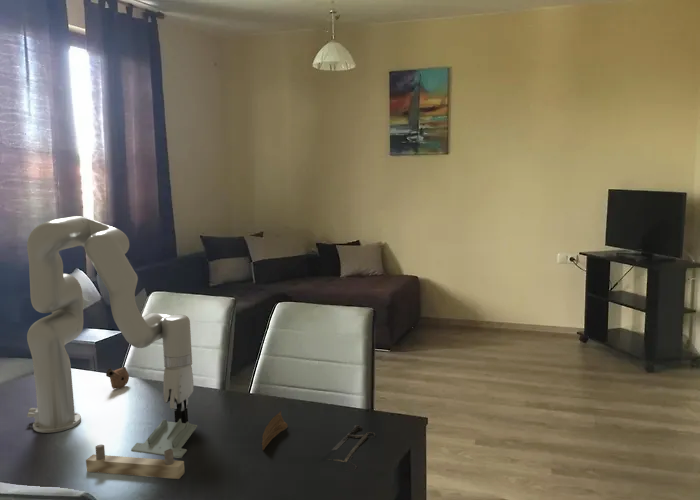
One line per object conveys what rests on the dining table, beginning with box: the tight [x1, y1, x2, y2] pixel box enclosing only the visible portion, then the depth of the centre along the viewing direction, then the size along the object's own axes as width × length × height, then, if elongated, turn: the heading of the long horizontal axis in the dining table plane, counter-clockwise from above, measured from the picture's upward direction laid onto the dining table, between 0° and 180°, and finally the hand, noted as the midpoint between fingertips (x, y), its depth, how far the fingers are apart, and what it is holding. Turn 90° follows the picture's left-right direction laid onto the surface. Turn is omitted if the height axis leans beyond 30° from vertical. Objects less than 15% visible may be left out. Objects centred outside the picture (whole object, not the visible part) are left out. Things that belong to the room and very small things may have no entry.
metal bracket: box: [130, 418, 198, 459], centre depth 169 cm, size 14×6×15 cm
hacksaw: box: [327, 424, 376, 472], centre depth 166 cm, size 24×10×1 cm, turn 155°
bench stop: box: [85, 444, 186, 480], centre depth 154 cm, size 24×3×6 cm, turn 80°
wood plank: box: [260, 410, 289, 451], centre depth 172 cm, size 15×2×5 cm, turn 166°
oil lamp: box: [105, 366, 130, 390], centre depth 211 cm, size 9×4×8 cm, turn 154°
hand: (181, 422), depth 179 cm, fingers closed
